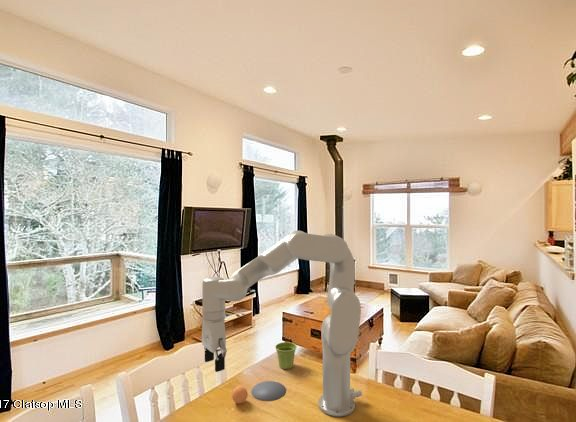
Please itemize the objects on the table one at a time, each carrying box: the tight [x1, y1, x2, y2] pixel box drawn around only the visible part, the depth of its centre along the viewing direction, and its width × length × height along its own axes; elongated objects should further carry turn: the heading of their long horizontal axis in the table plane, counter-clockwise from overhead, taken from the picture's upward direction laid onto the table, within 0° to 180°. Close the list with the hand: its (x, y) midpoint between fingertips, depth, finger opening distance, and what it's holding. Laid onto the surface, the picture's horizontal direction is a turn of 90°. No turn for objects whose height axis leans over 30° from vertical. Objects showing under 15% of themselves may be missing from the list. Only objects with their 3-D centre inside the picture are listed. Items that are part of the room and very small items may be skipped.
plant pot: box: [274, 341, 297, 370], centre depth 146 cm, size 9×9×9 cm
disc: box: [251, 380, 287, 402], centre depth 127 cm, size 13×13×1 cm
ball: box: [231, 385, 249, 404], centre depth 119 cm, size 6×6×6 cm
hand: (214, 365), depth 113 cm, fingers open, 7 cm apart
